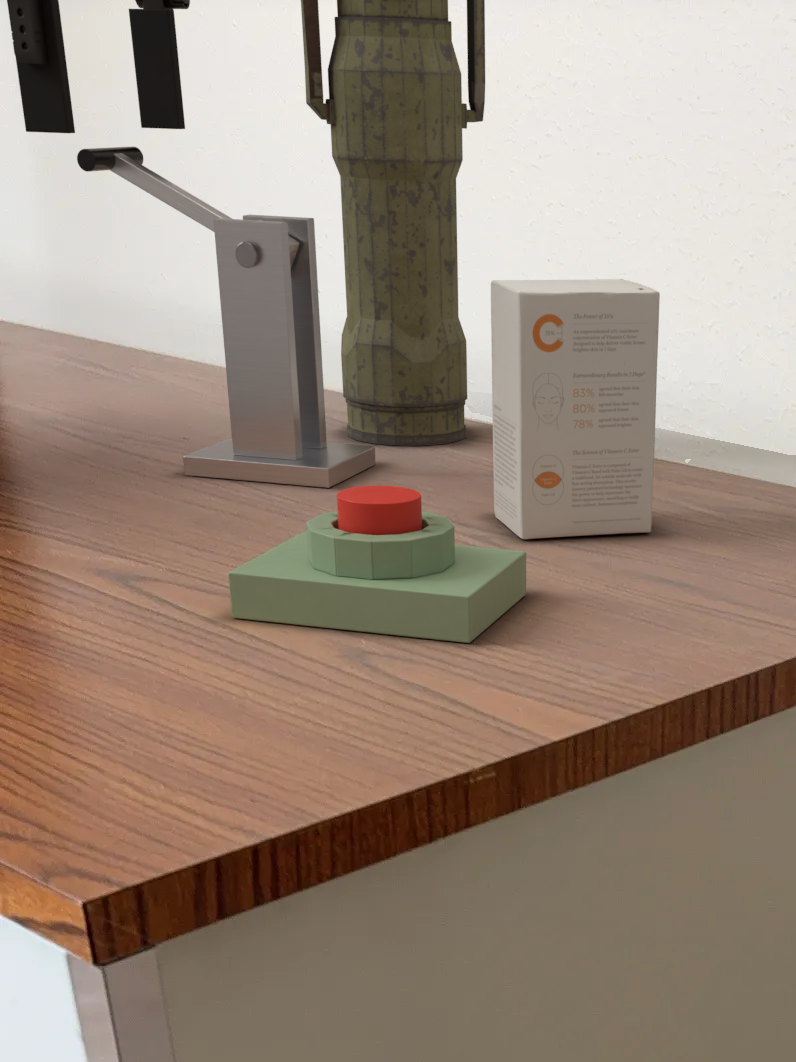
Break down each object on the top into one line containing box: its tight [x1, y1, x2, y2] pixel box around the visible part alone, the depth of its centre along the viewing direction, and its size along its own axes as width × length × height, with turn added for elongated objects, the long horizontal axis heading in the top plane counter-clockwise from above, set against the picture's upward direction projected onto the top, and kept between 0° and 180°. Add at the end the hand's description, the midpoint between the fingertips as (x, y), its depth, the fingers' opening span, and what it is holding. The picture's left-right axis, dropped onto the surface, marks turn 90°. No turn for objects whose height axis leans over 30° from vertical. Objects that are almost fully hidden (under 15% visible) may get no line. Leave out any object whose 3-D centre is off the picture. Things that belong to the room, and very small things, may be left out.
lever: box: [76, 146, 300, 270], centre depth 102 cm, size 13×6×2 cm, turn 75°
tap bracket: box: [182, 214, 377, 489], centre depth 105 cm, size 10×8×15 cm
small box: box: [490, 278, 661, 540], centre depth 94 cm, size 8×6×13 cm
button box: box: [227, 510, 527, 644], centre depth 80 cm, size 12×9×4 cm
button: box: [336, 485, 423, 535], centre depth 79 cm, size 4×4×2 cm
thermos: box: [300, 0, 486, 447], centre depth 111 cm, size 9×12×35 cm
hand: (110, 131), depth 101 cm, fingers open, 13 cm apart
